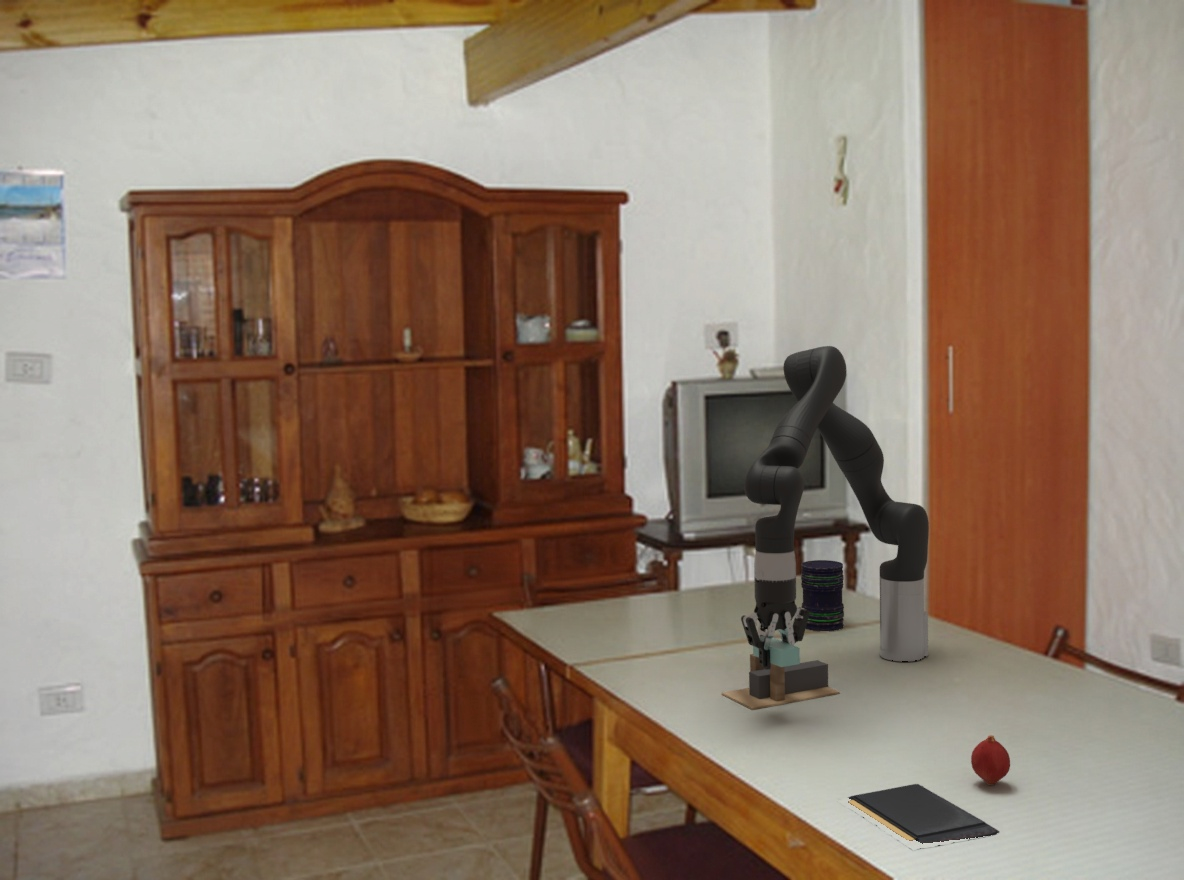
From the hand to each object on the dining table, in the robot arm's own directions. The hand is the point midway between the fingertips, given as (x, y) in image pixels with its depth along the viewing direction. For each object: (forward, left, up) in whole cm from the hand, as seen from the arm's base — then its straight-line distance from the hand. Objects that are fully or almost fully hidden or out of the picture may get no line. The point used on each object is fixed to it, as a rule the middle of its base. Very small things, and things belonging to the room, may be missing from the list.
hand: (776, 666), depth 227 cm
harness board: (-8, -11, -9) cm, 16 cm away
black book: (+8, +48, -10) cm, 50 cm away
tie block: (0, 0, +1) cm, 1 cm away
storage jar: (-46, -50, -10) cm, 69 cm away
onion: (-10, +44, -10) cm, 46 cm away
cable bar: (-10, -11, -9) cm, 17 cm away
